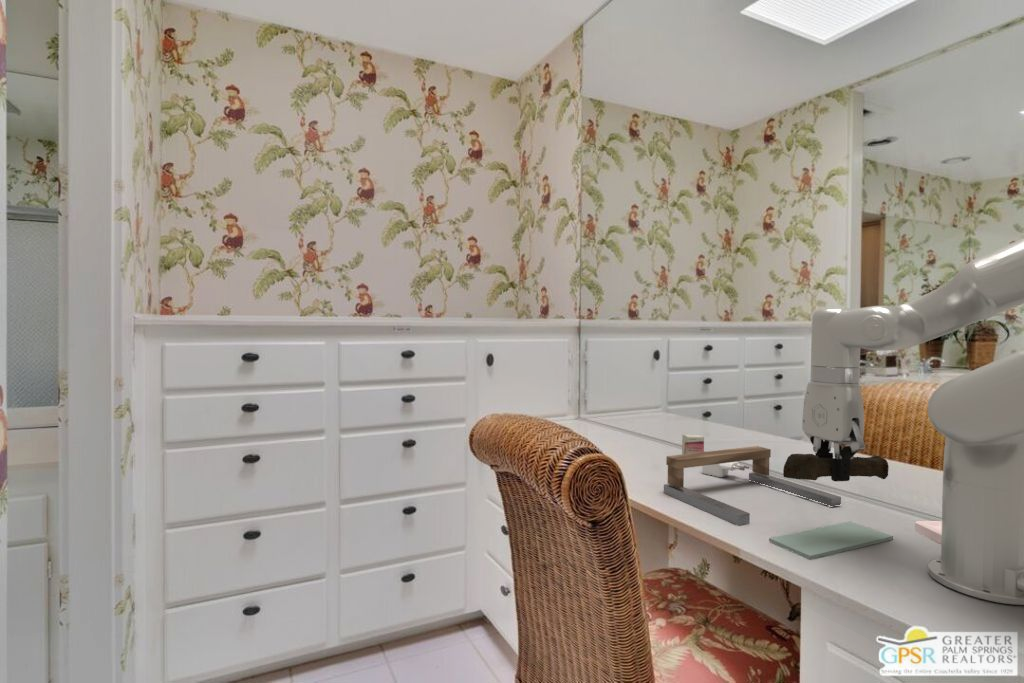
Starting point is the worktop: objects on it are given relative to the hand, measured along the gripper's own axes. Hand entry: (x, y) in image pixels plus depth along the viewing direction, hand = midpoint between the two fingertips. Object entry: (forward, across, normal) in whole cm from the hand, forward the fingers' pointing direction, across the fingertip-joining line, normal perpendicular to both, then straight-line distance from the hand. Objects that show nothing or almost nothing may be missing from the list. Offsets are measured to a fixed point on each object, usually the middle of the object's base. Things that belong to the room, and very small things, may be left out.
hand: (831, 476), depth 95 cm
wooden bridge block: (+10, -32, -3) cm, 33 cm away
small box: (+12, -56, +2) cm, 58 cm away
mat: (+12, 0, 0) cm, 12 cm away
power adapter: (+12, -41, +4) cm, 43 cm away
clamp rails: (+12, -23, -1) cm, 26 cm away
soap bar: (+12, +3, +21) cm, 25 cm away
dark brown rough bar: (+1, 0, 0) cm, 1 cm away
